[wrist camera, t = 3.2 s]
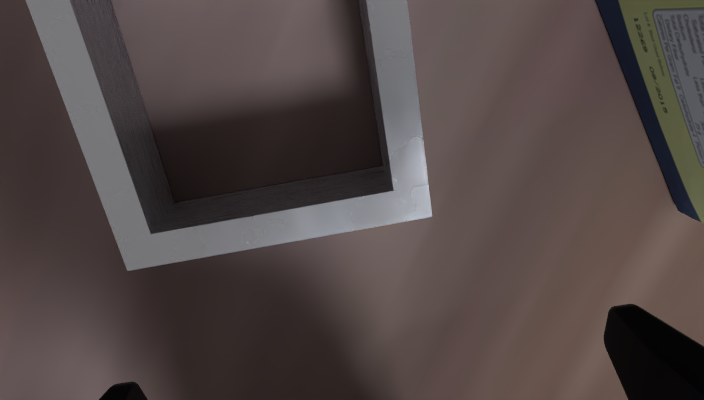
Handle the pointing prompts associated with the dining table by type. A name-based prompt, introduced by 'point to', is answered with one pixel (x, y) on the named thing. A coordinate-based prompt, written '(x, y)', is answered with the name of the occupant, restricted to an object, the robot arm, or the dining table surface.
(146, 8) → the dining table surface
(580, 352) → the dining table surface
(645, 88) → the protein box
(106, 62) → the collar
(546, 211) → the dining table surface
